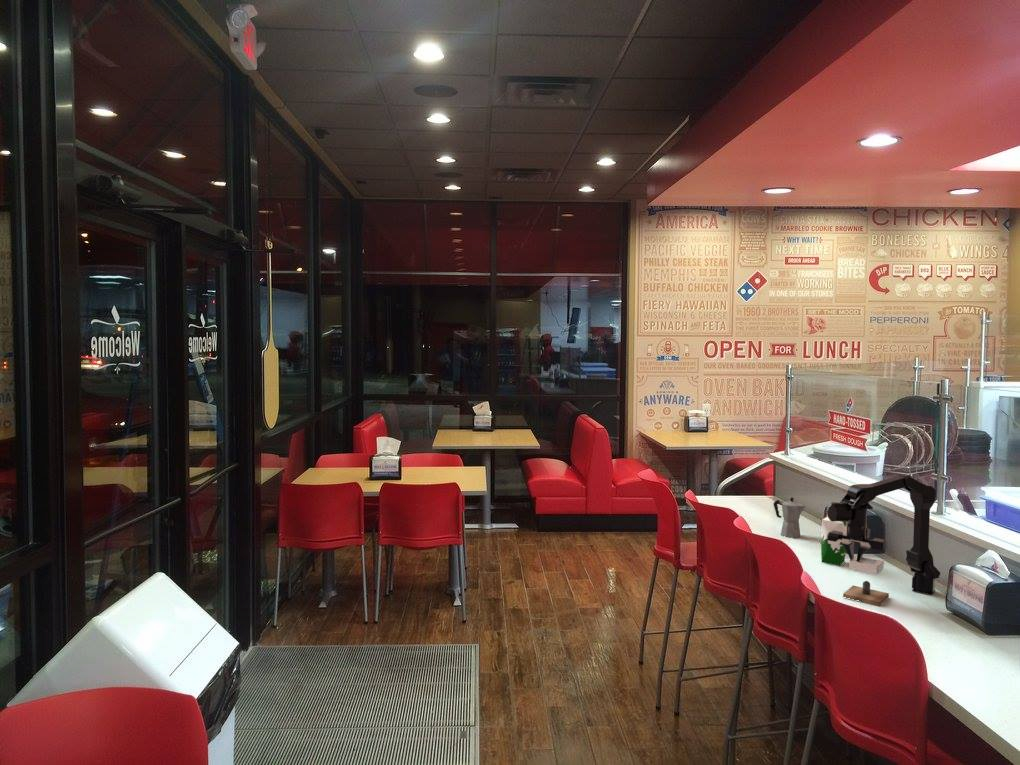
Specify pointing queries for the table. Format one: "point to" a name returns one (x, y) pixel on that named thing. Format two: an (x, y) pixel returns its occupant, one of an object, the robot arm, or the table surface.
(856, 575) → the table surface
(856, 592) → the board
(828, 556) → the milk carton
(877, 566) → the white square frame
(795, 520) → the coffeepot
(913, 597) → the table surface
